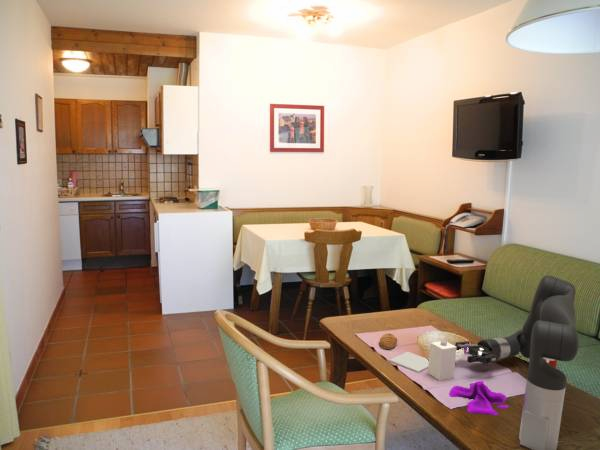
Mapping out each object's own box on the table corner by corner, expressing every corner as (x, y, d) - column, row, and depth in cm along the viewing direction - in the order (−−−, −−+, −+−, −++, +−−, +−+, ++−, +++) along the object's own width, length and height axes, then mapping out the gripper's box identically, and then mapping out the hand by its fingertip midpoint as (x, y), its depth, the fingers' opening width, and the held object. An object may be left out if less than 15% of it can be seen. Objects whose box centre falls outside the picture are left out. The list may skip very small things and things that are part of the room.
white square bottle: (453, 377, 174) (456, 344, 172) (439, 380, 171) (443, 346, 169) (441, 370, 179) (444, 337, 177) (427, 373, 177) (430, 339, 175)
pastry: (395, 352, 194) (396, 342, 193) (377, 349, 196) (378, 339, 195) (397, 343, 203) (398, 333, 202) (380, 340, 205) (380, 331, 204)
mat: (418, 372, 177) (418, 371, 176) (389, 361, 185) (389, 360, 185) (436, 363, 185) (436, 362, 185) (407, 352, 193) (407, 351, 193)
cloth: (480, 422, 148) (483, 401, 147) (435, 393, 164) (437, 374, 163) (532, 406, 158) (535, 388, 157) (485, 381, 174) (487, 364, 173)
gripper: (479, 332, 190) (445, 337, 183) (510, 346, 178) (475, 352, 171) (477, 351, 192) (443, 357, 184) (508, 367, 179) (473, 373, 172)
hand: (459, 354), depth 178 cm, fingers open, 8 cm apart
